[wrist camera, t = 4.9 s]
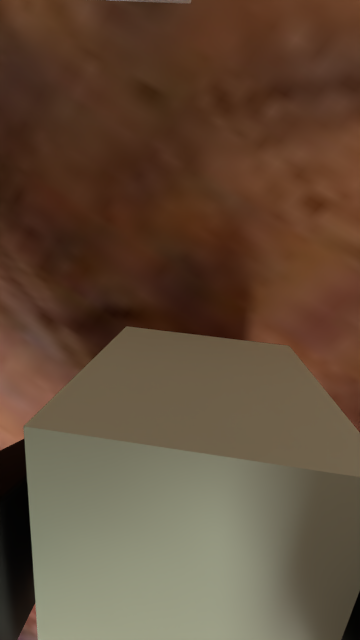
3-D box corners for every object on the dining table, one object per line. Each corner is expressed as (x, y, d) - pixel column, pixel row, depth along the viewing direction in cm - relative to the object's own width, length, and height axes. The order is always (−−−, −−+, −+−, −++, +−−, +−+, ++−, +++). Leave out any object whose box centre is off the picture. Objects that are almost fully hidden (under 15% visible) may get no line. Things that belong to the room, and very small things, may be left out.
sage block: (260, 480, 10) (313, 713, 5) (120, 457, 10) (38, 655, 5) (289, 345, 8) (400, 482, 3) (126, 326, 9) (23, 426, 4)
